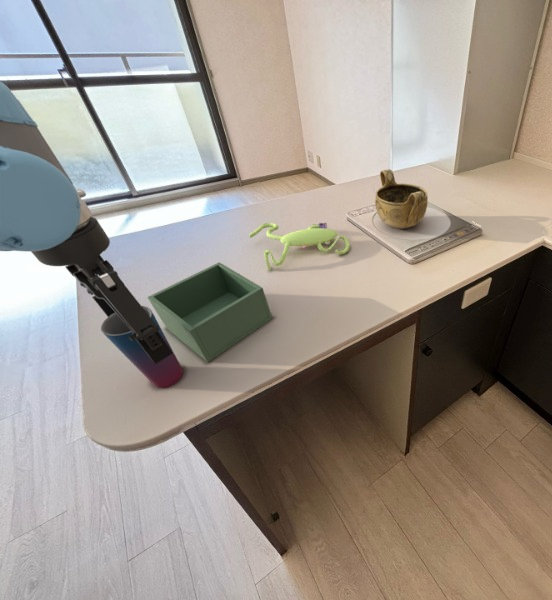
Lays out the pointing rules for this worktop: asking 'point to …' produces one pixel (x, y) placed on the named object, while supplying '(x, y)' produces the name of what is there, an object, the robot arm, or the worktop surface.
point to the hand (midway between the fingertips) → (142, 338)
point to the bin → (212, 309)
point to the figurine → (302, 239)
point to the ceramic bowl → (400, 202)
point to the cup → (142, 352)
